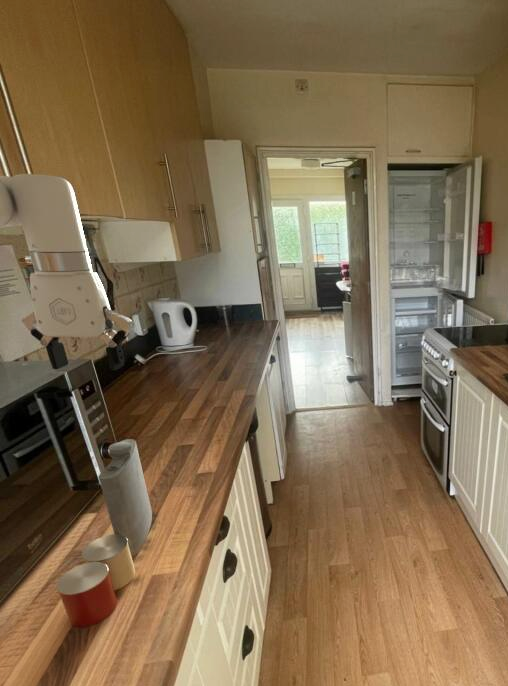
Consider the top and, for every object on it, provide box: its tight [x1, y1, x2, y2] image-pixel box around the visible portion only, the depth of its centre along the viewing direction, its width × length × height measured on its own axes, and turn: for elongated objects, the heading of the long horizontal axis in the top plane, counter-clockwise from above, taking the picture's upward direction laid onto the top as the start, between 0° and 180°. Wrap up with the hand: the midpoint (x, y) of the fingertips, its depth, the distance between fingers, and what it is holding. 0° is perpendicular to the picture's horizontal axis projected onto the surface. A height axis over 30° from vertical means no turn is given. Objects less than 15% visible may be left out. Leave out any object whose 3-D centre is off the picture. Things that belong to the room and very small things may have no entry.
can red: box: [56, 562, 118, 628], centre depth 68 cm, size 7×7×7 cm
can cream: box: [81, 533, 136, 592], centre depth 75 cm, size 7×7×7 cm
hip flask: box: [98, 438, 153, 558], centre depth 84 cm, size 16×4×20 cm, turn 17°
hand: (89, 367), depth 74 cm, fingers open, 9 cm apart
